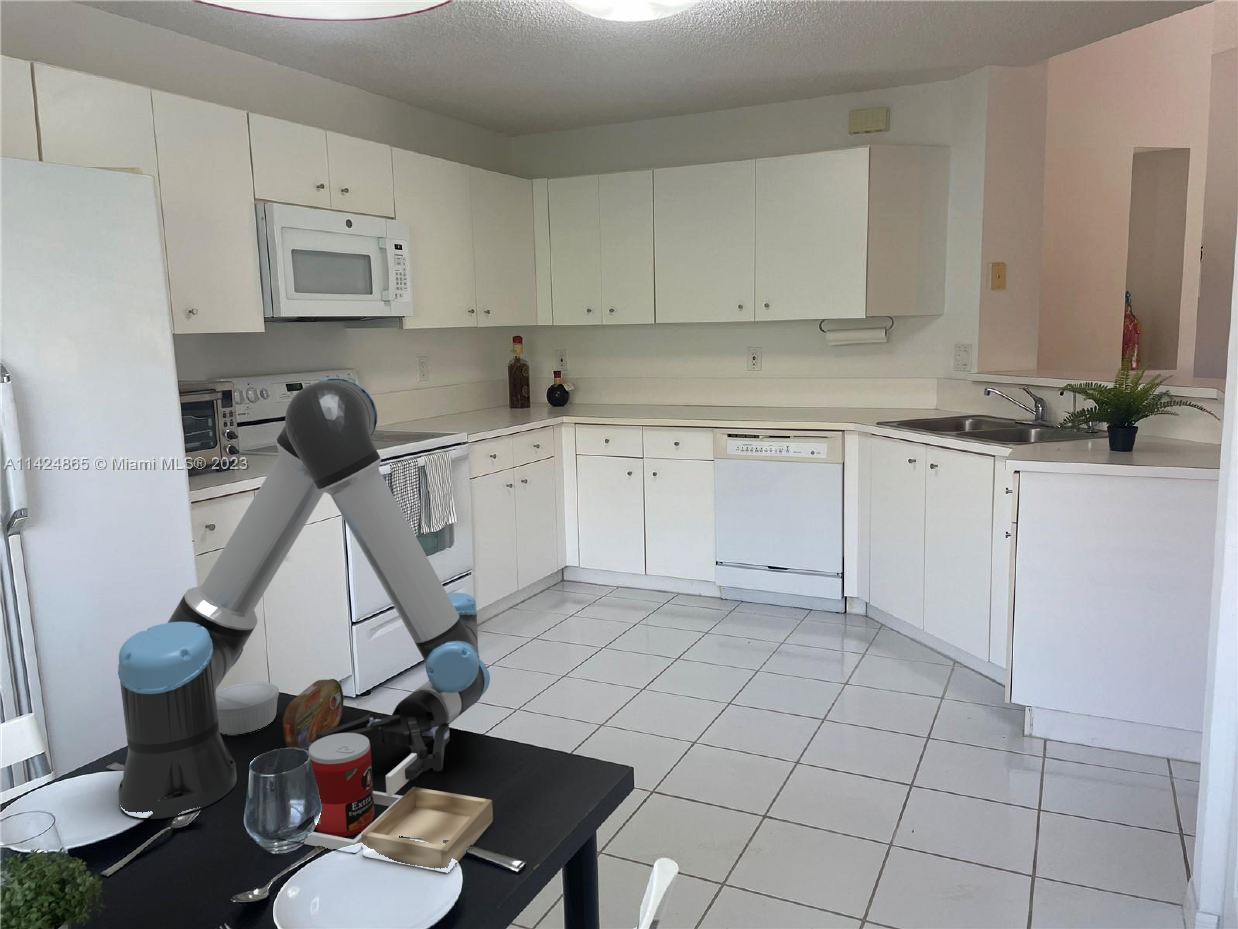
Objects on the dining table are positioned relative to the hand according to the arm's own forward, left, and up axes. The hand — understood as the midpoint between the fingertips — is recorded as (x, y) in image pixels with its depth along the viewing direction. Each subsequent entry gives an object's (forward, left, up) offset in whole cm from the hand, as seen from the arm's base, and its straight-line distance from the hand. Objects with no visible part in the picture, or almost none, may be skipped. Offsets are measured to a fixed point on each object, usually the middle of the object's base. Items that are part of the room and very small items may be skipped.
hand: (343, 779), depth 115 cm
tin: (-21, +20, -7) cm, 30 cm away
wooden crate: (+12, 0, -7) cm, 14 cm away
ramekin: (-36, +21, -7) cm, 42 cm away
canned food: (-1, 0, -7) cm, 7 cm away
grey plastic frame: (-1, 0, -7) cm, 7 cm away
